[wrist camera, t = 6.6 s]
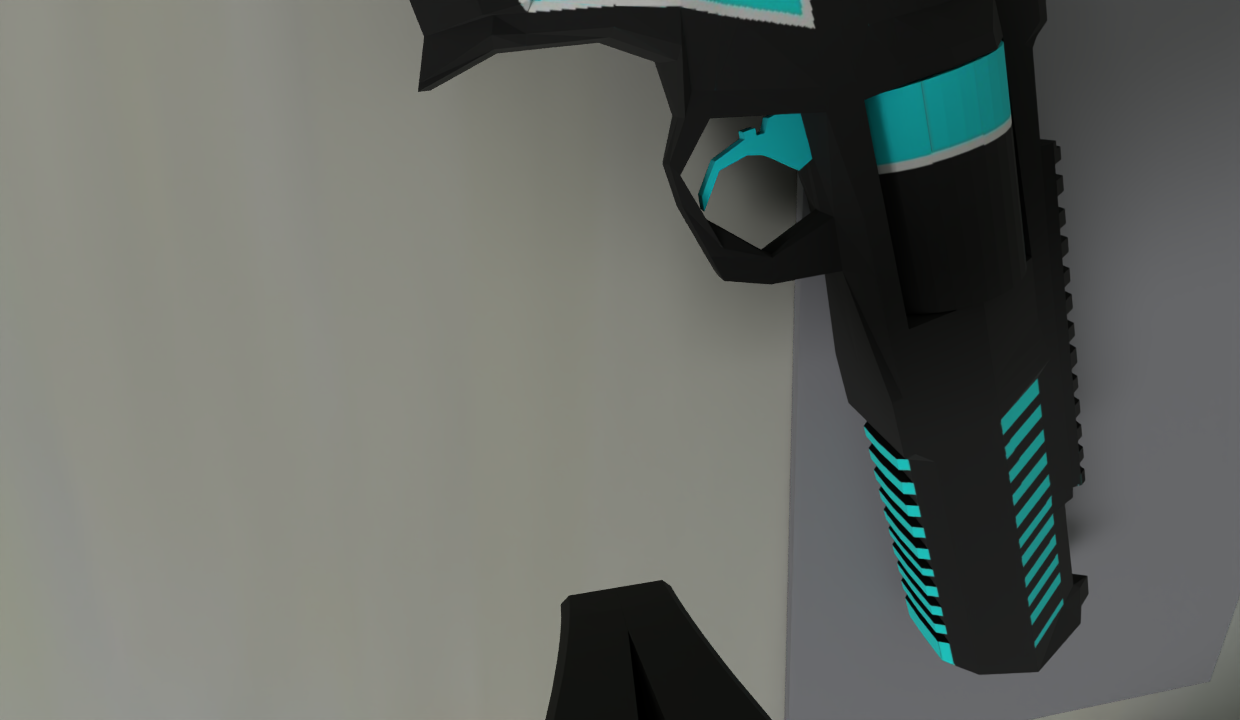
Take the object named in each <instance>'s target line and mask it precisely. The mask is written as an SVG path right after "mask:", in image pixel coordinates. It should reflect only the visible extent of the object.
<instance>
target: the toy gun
mask: <svg viewBox="0 0 1240 720" xmlns="http://www.w3.org/2000/svg"><path fill="white" fill-rule="evenodd" d="M410 3H411V5H412V8H413V10H414V13H415V15H416V18H417V20H418V22H419V25H420V27H421V30H422V32H423V35H424V44H423V52H422V61H421V70H420V79H419V88H418V92H421V91H429V90H432V89H434V88H436V87H437V86H439V85H441V84H443V83H445V82H446V81H448V80H450V79H452V78H453V77H455V76H457V75H459V74H461V73H462V72H464V71H466V70H468V69H470V68H471V67H473V66H475V65H477V64H479V63H480V62H482V61H484V60H486V59H487V58H489V57H491V56H493V55H495V54H496V53H504V52H513V51H523V50H533V49H542V48H552V47H561V46H571V45H580V44H590V43H601V44H604V45H607V46H610V47H613V48H616V49H619V50H622V51H625V52H628V53H631V54H633V55H636V56H639V57H642V58H645V59H648V60H651V61H654V62H655V64H656V67H657V70H658V73H659V76H660V79H661V82H662V85H663V89H664V92H665V95H666V98H667V101H668V104H669V107H670V110H671V113H672V120H671V125H670V130H669V134H668V139H667V144H666V149H665V153H664V158H663V166H664V169H665V172H666V175H667V178H668V181H669V184H670V187H671V190H672V193H673V196H674V199H675V202H676V205H677V207H678V209H679V211H680V212H681V214H682V216H683V217H684V219H685V221H686V223H687V224H688V226H689V228H690V230H691V231H692V233H693V235H694V236H695V238H696V240H697V242H698V243H699V245H700V247H701V248H702V250H703V252H704V254H705V255H706V257H707V259H708V260H709V262H710V264H711V265H712V267H713V269H714V270H715V272H716V273H717V275H718V276H719V277H720V278H721V279H723V280H724V281H733V282H746V283H760V284H775V283H781V282H786V281H791V280H797V279H802V278H807V277H813V276H818V275H823V274H825V280H826V287H827V295H828V302H829V310H830V317H831V324H832V332H833V339H834V346H835V354H836V358H837V361H838V365H839V369H840V373H841V377H842V381H843V384H844V388H845V392H846V396H847V400H848V403H849V404H850V405H851V406H852V407H853V408H854V409H855V410H856V411H857V412H858V413H859V414H860V415H861V416H862V417H863V418H864V419H865V420H866V421H867V422H866V423H865V425H864V430H865V434H866V437H867V438H868V439H869V440H870V441H871V442H872V444H871V445H870V446H869V452H870V456H871V459H872V460H873V462H874V463H875V464H876V467H875V468H874V473H875V477H876V480H877V482H878V483H879V484H880V485H881V487H880V488H879V492H880V496H881V500H882V501H883V502H884V503H885V505H886V506H885V508H884V513H885V517H886V520H887V521H888V523H889V524H890V526H889V528H888V529H889V533H890V536H891V537H892V538H893V540H894V543H893V544H892V546H893V550H894V554H895V555H896V557H897V558H898V559H899V560H898V562H897V565H898V569H899V572H900V573H901V575H902V576H903V578H902V580H901V582H902V586H903V589H904V591H905V592H906V593H907V595H906V597H905V600H906V604H907V608H908V612H909V616H910V617H911V619H912V620H913V621H914V623H915V624H916V626H917V627H918V629H919V630H920V632H921V633H922V635H923V636H924V638H925V639H926V640H927V642H928V643H929V644H930V645H931V647H932V648H933V649H934V651H935V652H936V653H937V655H938V656H939V657H940V658H941V660H942V661H944V662H947V663H950V664H952V665H955V666H957V667H960V668H962V669H965V670H968V671H970V672H973V673H976V674H978V675H990V674H1010V673H1031V672H1039V671H1040V670H1041V669H1042V668H1043V666H1044V665H1045V664H1046V663H1047V662H1048V661H1049V660H1050V658H1051V657H1052V656H1053V655H1054V654H1055V653H1056V651H1057V650H1058V649H1059V648H1060V647H1061V646H1062V645H1063V643H1064V642H1065V641H1066V640H1067V639H1068V638H1069V636H1070V635H1071V634H1072V633H1073V632H1074V631H1075V630H1076V628H1077V627H1078V626H1079V625H1080V624H1081V607H1082V604H1083V603H1084V601H1085V599H1086V598H1087V596H1088V594H1089V590H1088V576H1086V575H1079V574H1072V566H1071V557H1070V548H1069V539H1068V530H1067V521H1066V509H1065V504H1066V503H1067V502H1068V501H1069V500H1071V499H1072V498H1073V487H1076V486H1080V485H1082V484H1083V483H1084V482H1085V469H1084V468H1082V467H1081V466H1080V462H1081V461H1082V460H1083V458H1084V452H1083V446H1081V445H1080V444H1079V443H1078V441H1079V439H1080V438H1081V437H1082V428H1081V424H1080V423H1078V422H1077V421H1076V417H1077V416H1078V415H1079V414H1080V400H1079V399H1077V398H1076V397H1074V392H1075V391H1076V390H1077V389H1078V376H1077V375H1075V374H1074V373H1072V368H1073V367H1074V366H1075V365H1076V364H1077V351H1076V347H1075V346H1073V345H1071V344H1070V343H1069V342H1070V341H1071V340H1072V339H1073V337H1074V336H1075V328H1074V323H1073V322H1071V321H1070V320H1067V314H1068V313H1069V312H1070V311H1071V310H1072V309H1073V302H1072V294H1070V293H1068V292H1066V291H1065V287H1066V286H1067V285H1068V283H1069V282H1070V281H1071V280H1070V268H1068V267H1066V266H1064V265H1063V260H1062V258H1063V257H1064V256H1065V255H1066V254H1067V253H1068V252H1069V247H1068V237H1066V236H1063V235H1060V228H1062V227H1063V226H1064V225H1065V224H1066V216H1065V208H1062V207H1058V196H1059V195H1060V194H1061V193H1062V192H1063V191H1064V184H1063V175H1059V174H1056V169H1055V164H1056V163H1057V162H1059V161H1060V160H1061V147H1060V146H1056V140H1046V139H1040V131H1039V119H1038V107H1037V95H1036V82H1035V70H1034V58H1033V46H1034V43H1035V40H1036V37H1037V35H1038V34H1039V32H1040V31H1041V29H1042V28H1043V26H1044V25H1045V23H1046V22H1047V9H1046V0H410ZM762 115H767V116H765V117H763V120H762V124H761V128H760V132H758V133H756V130H755V128H752V127H749V128H746V129H743V130H740V131H738V132H739V137H740V139H738V140H737V141H736V142H734V143H733V144H732V145H730V146H729V147H728V148H726V149H725V150H723V151H722V152H721V153H719V154H718V155H717V156H715V157H714V158H713V159H711V161H710V164H709V166H708V169H707V172H706V174H705V177H704V180H703V182H702V185H701V188H700V190H699V193H698V196H699V203H700V208H699V206H698V205H697V203H696V201H695V200H694V198H693V196H692V195H691V193H690V191H689V189H688V188H687V186H686V184H685V183H684V181H683V179H682V178H681V176H680V175H681V173H682V171H683V169H684V167H685V165H686V163H687V161H688V159H689V157H690V156H691V154H692V152H693V150H694V148H695V146H696V144H697V142H698V140H699V138H700V136H701V134H702V132H703V130H704V129H705V127H706V125H707V123H708V121H709V119H710V118H724V117H743V116H762ZM747 155H763V156H766V157H769V158H772V159H774V160H776V161H778V162H780V163H782V164H785V165H787V166H789V167H791V168H793V169H796V171H797V173H798V176H799V178H800V181H801V184H802V186H803V189H804V191H805V194H806V197H807V200H808V204H809V209H810V213H809V214H808V215H807V216H805V217H804V218H803V219H801V220H800V221H799V222H797V223H796V224H795V225H793V226H792V227H791V228H789V229H788V230H787V231H785V232H784V233H783V234H781V235H780V236H779V237H777V238H776V239H775V240H773V241H772V242H771V243H769V244H768V245H767V246H765V247H764V248H763V249H761V250H760V249H759V248H757V247H755V246H753V245H751V244H750V243H748V242H746V241H744V240H742V239H741V238H739V237H737V236H735V235H734V234H732V233H730V232H728V231H726V230H725V229H723V228H721V227H719V226H717V225H716V224H714V223H712V222H710V221H709V220H707V219H706V218H705V216H704V215H703V213H702V211H701V210H703V211H705V208H706V206H707V203H708V200H709V197H710V195H711V192H712V189H713V187H714V184H715V181H716V178H717V176H718V173H719V171H720V170H722V169H724V168H725V167H727V166H729V165H731V164H733V163H734V162H736V161H738V160H740V159H742V158H743V157H745V156H747ZM700 209H701V210H700Z"/></svg>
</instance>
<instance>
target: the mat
mask: <svg viewBox="0 0 1240 720" xmlns="http://www.w3.org/2000/svg"><path fill="white" fill-rule="evenodd" d="M1046 9H1047V22H1046V23H1045V25H1044V26H1043V28H1042V29H1041V31H1040V32H1039V34H1038V35H1037V37H1036V40H1035V43H1034V46H1033V58H1034V70H1035V82H1036V95H1037V107H1038V119H1039V131H1040V139H1046V140H1056V146H1060V147H1061V160H1060V161H1059V162H1057V163H1056V164H1055V169H1056V174H1059V175H1063V184H1064V191H1063V192H1062V193H1061V194H1060V195H1059V196H1058V207H1062V208H1065V216H1066V224H1065V225H1064V226H1063V227H1062V228H1060V235H1063V236H1066V237H1068V247H1069V252H1068V253H1067V254H1066V255H1065V256H1064V257H1063V258H1062V260H1063V265H1064V266H1066V267H1068V268H1070V280H1071V281H1070V282H1069V283H1068V285H1067V286H1066V287H1065V291H1066V292H1068V293H1070V294H1072V302H1073V309H1072V310H1071V311H1070V312H1069V313H1068V314H1067V320H1070V321H1071V322H1073V323H1074V328H1075V336H1074V337H1073V339H1072V340H1071V341H1070V342H1069V343H1070V344H1071V345H1073V346H1075V347H1076V351H1077V364H1076V365H1075V366H1074V367H1073V368H1072V373H1074V374H1075V375H1077V376H1078V389H1077V390H1076V391H1075V392H1074V397H1076V398H1077V399H1079V400H1080V414H1079V415H1078V416H1077V417H1076V421H1077V422H1078V423H1080V424H1081V428H1082V437H1081V438H1080V439H1079V441H1078V443H1079V444H1080V445H1081V446H1083V452H1084V458H1083V460H1082V461H1081V462H1080V466H1081V467H1082V468H1084V469H1085V482H1084V483H1083V484H1082V485H1080V486H1076V487H1073V498H1072V499H1071V500H1069V501H1068V502H1067V503H1066V504H1065V509H1066V521H1067V530H1068V539H1069V548H1070V557H1071V566H1072V574H1079V575H1086V576H1088V590H1089V594H1088V596H1087V598H1086V599H1085V601H1084V603H1083V604H1082V607H1081V624H1080V625H1079V626H1078V627H1077V628H1076V630H1075V631H1074V632H1073V633H1072V634H1071V635H1070V636H1069V638H1068V639H1067V640H1066V641H1065V642H1064V643H1063V645H1062V646H1061V647H1060V648H1059V649H1058V650H1057V651H1056V653H1055V654H1054V655H1053V656H1052V657H1051V658H1050V660H1049V661H1048V662H1047V663H1046V664H1045V665H1044V666H1043V668H1042V669H1041V670H1040V671H1039V672H1031V673H1010V674H990V675H978V674H976V673H973V672H970V671H968V670H965V669H962V668H960V667H957V666H955V665H952V664H950V663H947V662H944V661H942V660H941V658H940V657H939V656H938V655H937V653H936V652H935V651H934V649H933V648H932V647H931V645H930V644H929V643H928V642H927V640H926V639H925V638H924V636H923V635H922V633H921V632H920V630H919V629H918V627H917V626H916V624H915V623H914V621H913V620H912V619H911V617H910V616H909V612H908V608H907V604H906V600H905V597H906V595H907V593H906V592H905V591H904V589H903V586H902V582H901V580H902V578H903V576H902V575H901V573H900V572H899V569H898V565H897V562H898V560H899V559H898V558H897V557H896V555H895V554H894V550H893V546H892V544H893V543H894V540H893V538H892V537H891V536H890V533H889V529H888V528H889V526H890V524H889V523H888V521H887V520H886V517H885V513H884V508H885V506H886V505H885V503H884V502H883V501H882V500H881V496H880V492H879V488H880V487H881V485H880V484H879V483H878V482H877V480H876V477H875V473H874V468H875V467H876V464H875V463H874V462H873V460H872V459H871V456H870V452H869V446H870V445H871V444H872V442H871V441H870V440H869V439H868V438H867V437H866V434H865V430H864V425H865V423H866V422H867V421H866V420H865V419H864V418H863V417H862V416H861V415H860V414H859V413H858V412H857V411H856V410H855V409H854V408H853V407H852V406H851V405H850V404H849V403H848V400H847V396H846V392H845V388H844V384H843V381H842V377H841V373H840V369H839V365H838V361H837V358H836V354H835V346H834V339H833V332H832V324H831V317H830V310H829V302H828V295H827V287H826V280H825V274H823V275H818V276H813V277H807V278H802V279H797V280H795V297H794V340H793V383H792V425H791V468H790V511H789V554H788V597H787V640H786V682H785V720H1031V719H1035V718H1040V717H1045V716H1050V715H1054V714H1059V713H1064V712H1068V711H1073V710H1078V709H1083V708H1087V707H1092V706H1097V705H1101V704H1106V703H1111V702H1115V701H1120V700H1125V699H1130V698H1134V697H1139V696H1144V695H1148V694H1153V693H1158V692H1163V691H1167V690H1172V689H1177V688H1181V687H1186V686H1191V685H1196V684H1200V683H1205V682H1210V680H1211V677H1212V674H1213V671H1214V669H1215V666H1216V663H1217V660H1218V657H1219V654H1220V651H1221V648H1222V645H1223V643H1224V640H1225V637H1226V634H1227V631H1228V628H1229V625H1230V622H1231V619H1232V617H1233V614H1234V611H1235V608H1236V605H1237V602H1238V599H1239V596H1240V0H1046ZM809 213H810V209H809V204H808V200H807V197H806V194H805V191H804V189H803V186H802V184H801V181H800V178H799V176H798V173H797V211H796V223H797V222H799V221H800V220H801V219H803V218H804V217H805V216H807V215H808V214H809Z"/></svg>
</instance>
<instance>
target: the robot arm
mask: <svg viewBox="0 0 1240 720" xmlns="http://www.w3.org/2000/svg"><path fill="white" fill-rule="evenodd" d="M545 720H772V719H771V718H770V717H769V716H768V715H767V713H766V712H765V711H764V710H763V709H762V707H761V706H760V705H759V704H758V703H757V701H756V700H755V699H754V698H753V697H752V695H751V694H750V693H749V692H748V691H747V690H746V688H745V687H744V686H743V685H742V684H741V682H740V681H739V680H738V679H737V678H736V676H735V675H734V674H733V673H732V671H731V670H730V669H729V668H728V666H727V665H726V664H725V663H724V661H723V660H722V659H721V658H720V656H719V655H718V654H717V652H716V651H715V650H714V648H713V647H712V646H711V644H710V643H709V642H708V640H707V639H706V638H705V636H704V635H703V634H702V632H701V631H700V630H699V628H698V627H697V625H696V624H695V623H694V621H693V620H692V618H691V617H690V615H689V614H688V612H687V611H686V610H685V608H684V607H683V605H682V603H681V602H680V600H679V599H678V597H677V596H676V594H675V593H674V591H673V589H672V587H671V586H670V585H668V584H667V583H666V582H664V581H663V580H660V581H654V582H648V583H642V584H636V585H630V586H624V587H618V588H612V589H606V590H600V591H594V592H588V593H582V594H576V595H570V596H568V597H567V598H566V599H565V600H564V601H563V603H562V604H561V632H560V643H559V651H558V659H557V665H556V670H555V676H554V682H553V688H552V693H551V697H550V702H549V706H548V710H547V715H546V719H545Z"/></svg>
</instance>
